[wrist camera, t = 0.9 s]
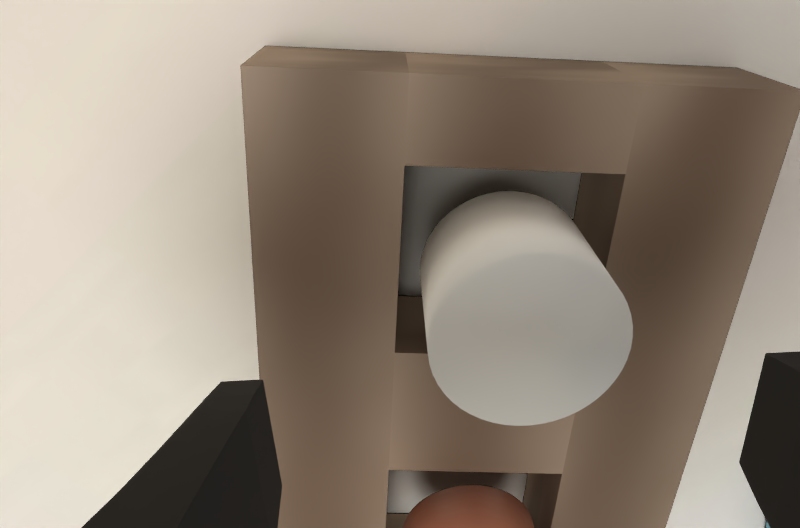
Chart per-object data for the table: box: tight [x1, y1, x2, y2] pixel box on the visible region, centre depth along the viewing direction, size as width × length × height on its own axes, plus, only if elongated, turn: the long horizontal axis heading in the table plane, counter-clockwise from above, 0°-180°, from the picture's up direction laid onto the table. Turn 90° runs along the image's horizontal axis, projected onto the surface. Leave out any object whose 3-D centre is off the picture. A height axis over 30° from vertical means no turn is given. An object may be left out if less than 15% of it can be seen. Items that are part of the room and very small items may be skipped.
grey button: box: [420, 191, 633, 426], centre depth 14 cm, size 4×4×3 cm
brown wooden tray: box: [240, 46, 800, 528], centre depth 19 cm, size 12×18×3 cm, turn 177°
